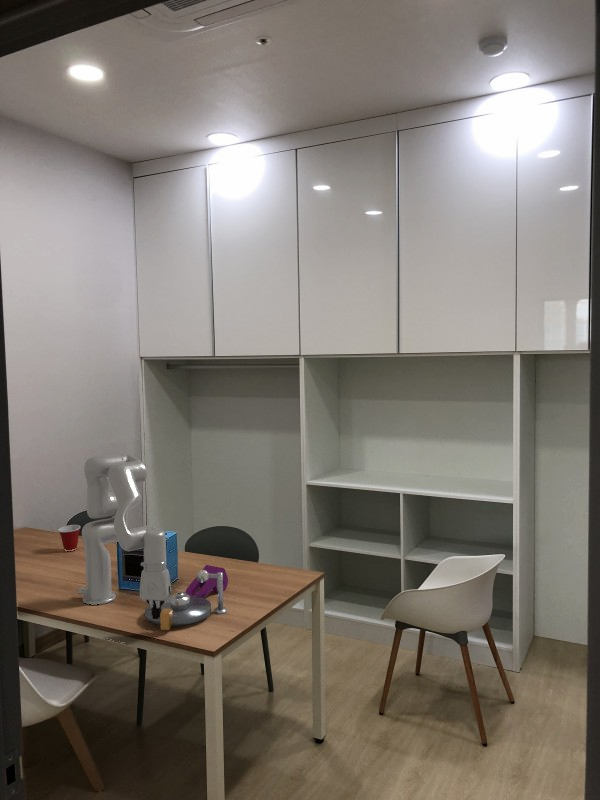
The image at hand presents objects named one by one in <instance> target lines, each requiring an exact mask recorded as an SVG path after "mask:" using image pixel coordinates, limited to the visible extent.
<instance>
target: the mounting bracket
mask: <svg viewBox="0 0 600 800" xmlns="http://www.w3.org/2000/svg"><path fill="white" fill-rule="evenodd" d="M201 570H206V571H207V572H208V574H217V573H218V572H222V573H223V592H225V591H226V589H227V587H228V584H229V577H228V574H227V572H226V569H225V567H220V566H214V565H210V564H209V565H208V564H205V566H204V567H203V568H202V569H201ZM198 589H199V590H198ZM197 591H198V592H197ZM211 592H215V593H218V586H217V578H208V580H207V581H206V582H204V583H201V582H199V581H198V580H197V578H196V577H195V578H194V579H193V580H192V581H191V582H190V584H189V585H188V586H187V588H186V589H185V592H184V594H188V595H189V596H197V597H201V598H204V599H206V597H207V596H209V594H210V593H211Z"/></svg>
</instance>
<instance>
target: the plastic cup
mask: <svg viewBox="0 0 600 800" xmlns="http://www.w3.org/2000/svg"><path fill="white" fill-rule="evenodd" d="M80 530H81V525H79V524H70V525H65V526H61V527H60V528H58V530H57V531H58V532H59V536H60V538H61V542H62V546H63V550H64V549H66V550H72V549H75V548H77V549H78V543H79V535H80Z"/></svg>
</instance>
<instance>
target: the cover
mask: <svg viewBox="0 0 600 800" xmlns="http://www.w3.org/2000/svg"><path fill="white" fill-rule="evenodd" d="M170 597H171V601H170V608H171V609H172V610H173V611H183V610H187V609H188V608H189V607H190V598H189V595H188V594H186V593H185V592H183V591H182V592H181V591H178V592H176V593H175V594H171V595H170Z"/></svg>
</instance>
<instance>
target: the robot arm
mask: <svg viewBox="0 0 600 800" xmlns="http://www.w3.org/2000/svg"><path fill="white" fill-rule="evenodd" d="M83 471H84V472H83V473H84V476H85V480H86V481H85V482H86V514H87V516H88V517H89V518H90V519H93V520H94V521H90V522H88V523H85V525H83V527H82V530H81V537H82V538H81V539H82V542H83V548H84V557H85V560H84V561H85V585H86V586H85V587H79V588H78V591H77V593H78V595H83V597H82V603H84V604H85V603H86V604H85V605H89V604H91V605H90V606H97V604H99V605H105V604H108V603H111V602H113V601H114V600H115V599H116V593H115V592H113V591H112V565H111V564H112V563H111V554H110V551H109V550H108V549H107V547H106V546H105V545H107V544H110V543H114V542H118V544H119V546H120V547H121V549H122V550H123V551H125V552H133V551H137V550H141V549H143V561H142V562H140V566H141V567H143V569H142V571H141V576H140V582H139V598H140V599H141V601H142V602H146V603H147V604H148V605H150V607H151V612H152V618H153V619H158V618H159V617H160V613H161V606H162V605H163V604H164V603H169V602H170V601H171V596H172V586H171V585H172V582H171V576H170V572H169V569H168V568H167V545H166V544H167V543H166V542H167V541H166V537H167V535H166V532H165V531H164V530H161V529H158V528H157V527H156V526H155V525H150V524H148V525H143V526H138V527H133V528H128V518H129V517H128V516H129V514H128V512H129V511H131V510H132V509H135V507H137V506H138V505H139V504H140V503H141V502H142V499H143V498H142V495H141V493H140V490H139V488H138V485H137V484H141V483H145V482H146V480H148V468H147V467H146V465H145V464H144V463H143V461H142V460H140V459H139V458H137V457H135V456H133V455H132V454H130V453H125V452H124V453H113V454H103V455H97V456H91V457H89V458H88V459H86V460H85V462H84V466H83ZM110 489H112V490H113V491H111V492H110ZM97 519H98V520H97ZM156 601H157V603H156Z"/></svg>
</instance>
